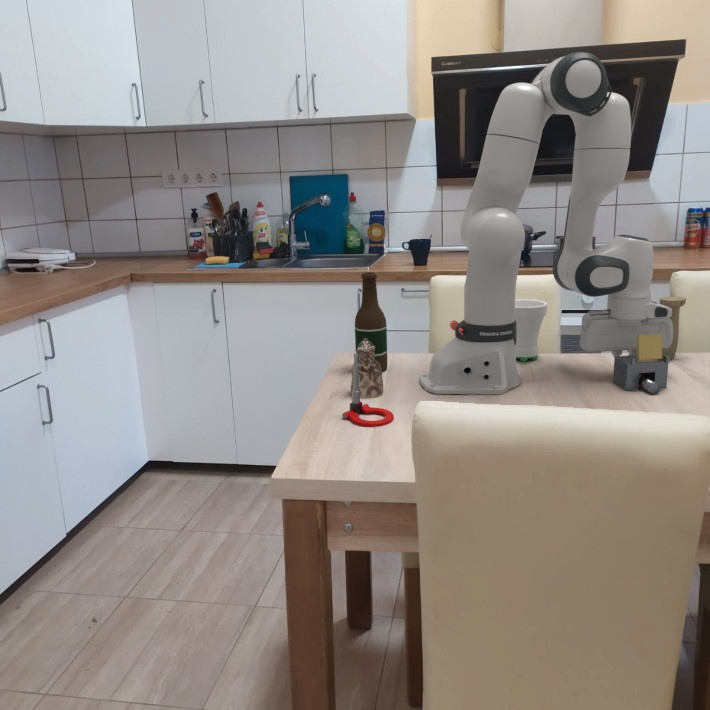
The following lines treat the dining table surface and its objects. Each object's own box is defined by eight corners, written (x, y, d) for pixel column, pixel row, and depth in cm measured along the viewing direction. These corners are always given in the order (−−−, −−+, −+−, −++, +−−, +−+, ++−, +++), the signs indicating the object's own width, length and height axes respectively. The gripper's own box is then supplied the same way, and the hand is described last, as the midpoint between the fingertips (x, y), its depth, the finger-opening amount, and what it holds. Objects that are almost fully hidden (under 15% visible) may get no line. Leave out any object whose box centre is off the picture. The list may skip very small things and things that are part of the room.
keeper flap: (636, 335, 140) (634, 335, 141) (636, 363, 141) (634, 362, 141) (664, 333, 141) (662, 333, 141) (664, 361, 141) (662, 361, 142)
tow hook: (402, 420, 132) (367, 408, 138) (403, 357, 129) (367, 348, 135) (374, 432, 126) (338, 420, 132) (374, 367, 123) (337, 357, 129)
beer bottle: (385, 374, 161) (383, 275, 155) (353, 374, 162) (350, 275, 156) (389, 365, 168) (387, 270, 162) (358, 365, 170) (355, 270, 164)
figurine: (348, 398, 145) (346, 344, 142) (353, 388, 152) (351, 336, 149) (381, 398, 144) (380, 344, 141) (384, 388, 151) (383, 336, 148)
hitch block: (628, 392, 142) (630, 358, 140) (612, 382, 149) (615, 350, 147) (669, 389, 143) (672, 356, 141) (652, 380, 150) (654, 348, 148)
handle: (684, 358, 165) (690, 298, 161) (668, 362, 162) (673, 301, 158) (667, 354, 169) (672, 295, 166) (650, 358, 166) (655, 298, 162)
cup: (501, 363, 167) (502, 307, 163) (498, 352, 177) (499, 299, 174) (548, 363, 165) (550, 307, 161) (542, 352, 176) (544, 298, 172)
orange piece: (643, 394, 140) (644, 379, 139) (616, 378, 151) (617, 363, 150) (665, 393, 140) (667, 378, 139) (637, 377, 152) (638, 362, 151)
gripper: (588, 313, 145) (584, 374, 149) (679, 309, 147) (673, 370, 150) (576, 308, 151) (573, 367, 155) (664, 304, 153) (658, 362, 156)
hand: (623, 368), depth 153 cm, fingers closed
